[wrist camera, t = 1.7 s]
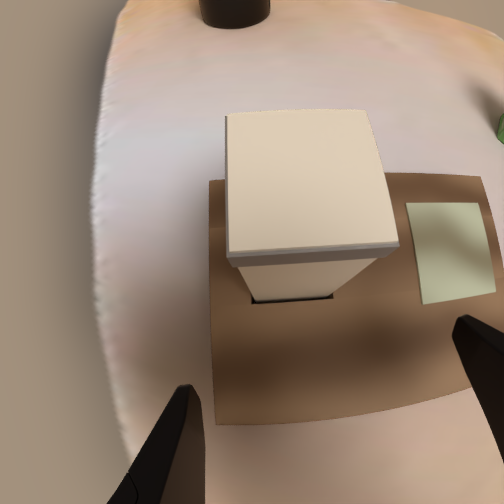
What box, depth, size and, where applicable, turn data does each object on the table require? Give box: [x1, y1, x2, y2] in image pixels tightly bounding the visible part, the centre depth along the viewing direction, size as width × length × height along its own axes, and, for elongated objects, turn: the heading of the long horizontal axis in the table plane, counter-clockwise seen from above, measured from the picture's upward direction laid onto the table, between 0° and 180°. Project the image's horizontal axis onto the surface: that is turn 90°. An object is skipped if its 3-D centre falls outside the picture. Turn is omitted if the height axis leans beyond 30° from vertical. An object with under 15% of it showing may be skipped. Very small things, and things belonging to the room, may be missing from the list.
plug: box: [225, 109, 400, 304], centre depth 15 cm, size 5×5×14 cm
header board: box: [209, 173, 504, 425], centre depth 19 cm, size 16×22×3 cm
